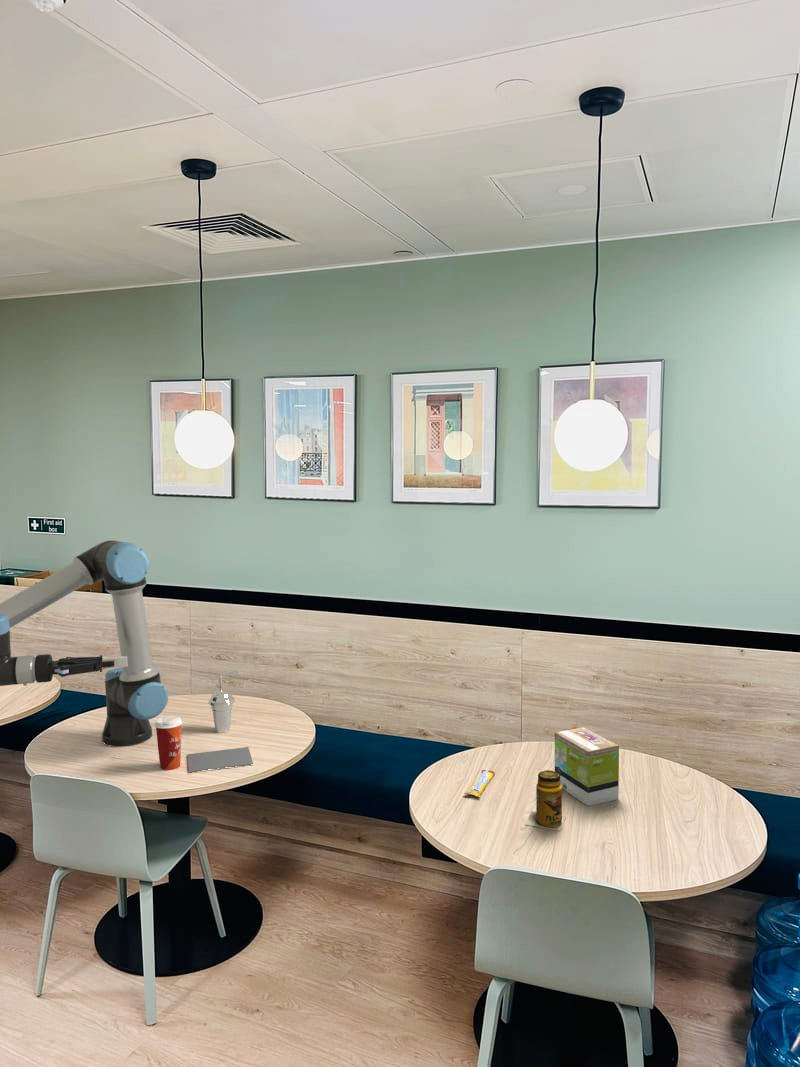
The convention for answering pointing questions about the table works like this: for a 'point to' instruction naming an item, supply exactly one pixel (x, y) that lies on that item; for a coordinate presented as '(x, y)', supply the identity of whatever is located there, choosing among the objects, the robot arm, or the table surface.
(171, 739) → the paper cup
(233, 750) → the mat
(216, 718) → the cup with straw
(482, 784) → the candy bar
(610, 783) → the tea box
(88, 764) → the table surface
